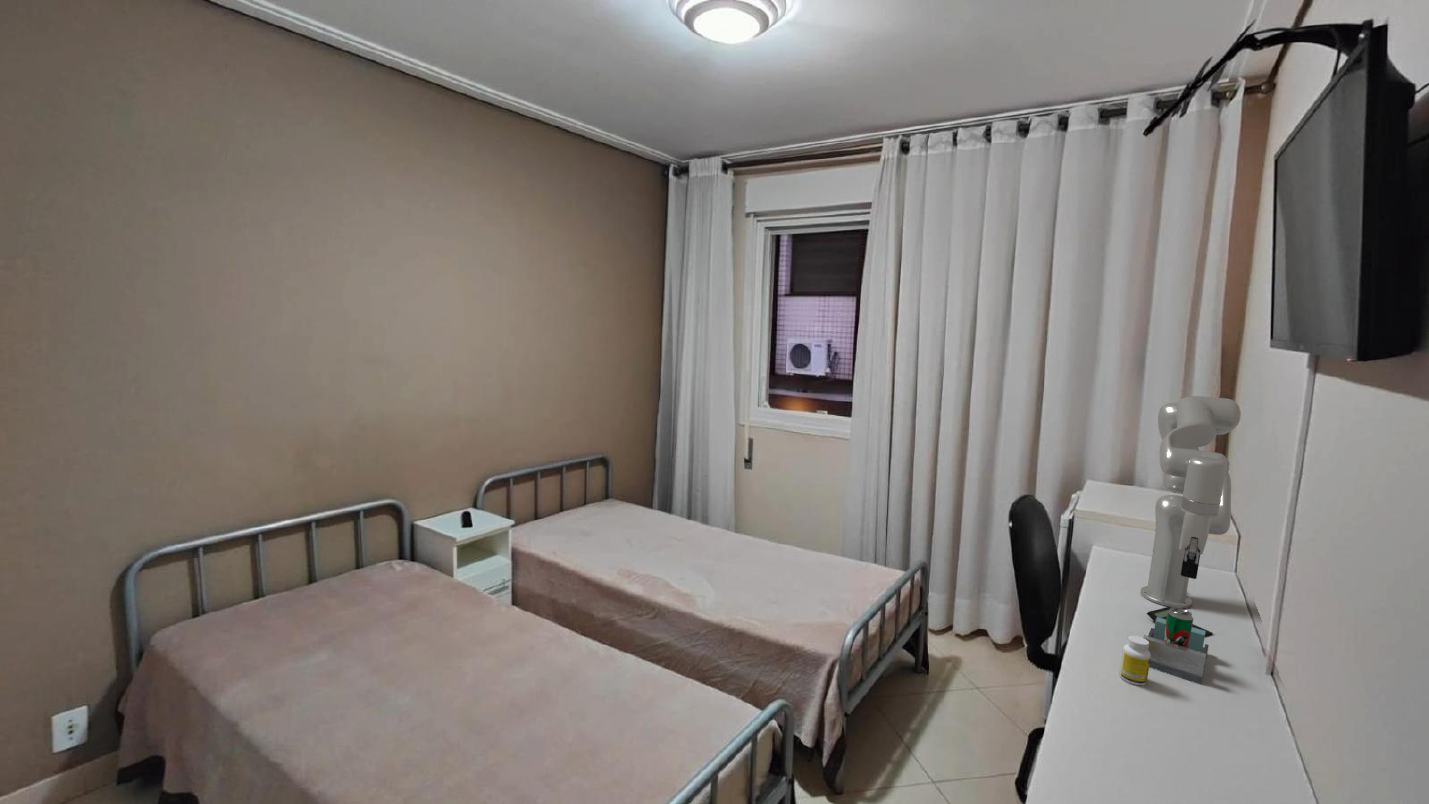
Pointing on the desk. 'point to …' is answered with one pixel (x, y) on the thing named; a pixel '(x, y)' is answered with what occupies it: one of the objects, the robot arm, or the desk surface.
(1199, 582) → the desk surface
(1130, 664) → the supplement bottle
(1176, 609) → the soda can
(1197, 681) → the grey tray
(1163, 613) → the calculator
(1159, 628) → the block
